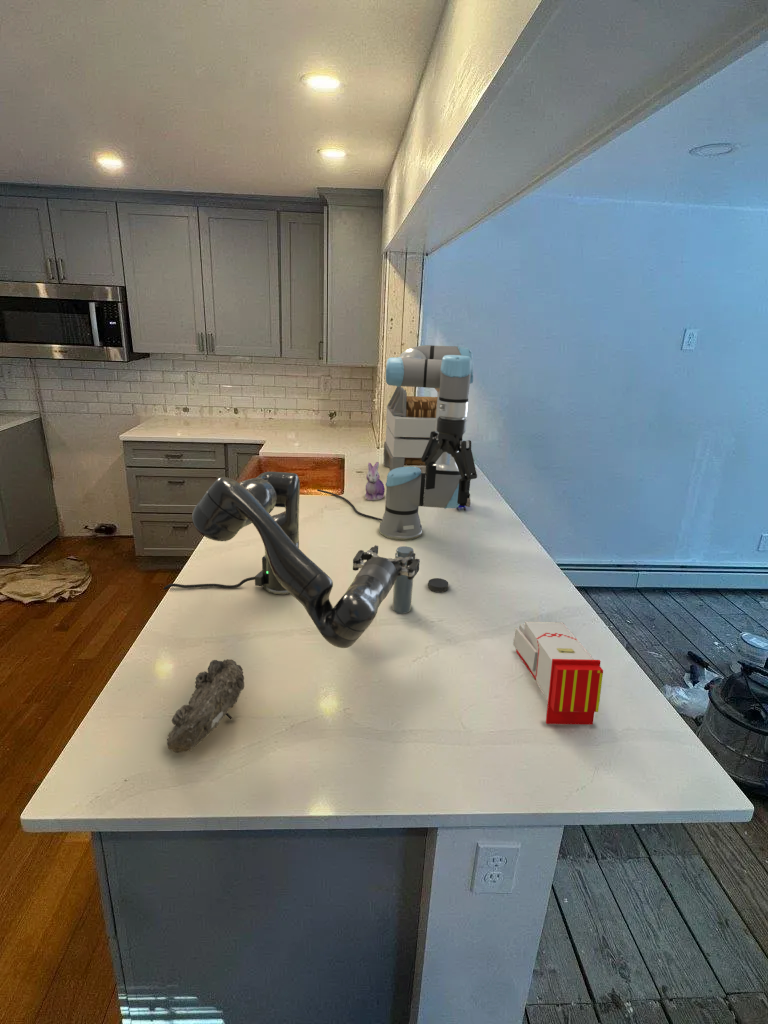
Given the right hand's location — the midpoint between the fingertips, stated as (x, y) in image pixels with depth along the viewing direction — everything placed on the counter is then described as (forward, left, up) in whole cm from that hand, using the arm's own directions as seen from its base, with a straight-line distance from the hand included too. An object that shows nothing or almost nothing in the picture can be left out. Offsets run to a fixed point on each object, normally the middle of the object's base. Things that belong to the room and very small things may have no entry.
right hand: (445, 495), depth 153 cm
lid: (0, 0, -26) cm, 26 cm away
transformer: (-89, +79, -28) cm, 122 cm away
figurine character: (-45, +58, -28) cm, 79 cm away
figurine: (-73, +36, -28) cm, 86 cm away
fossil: (+12, -74, -28) cm, 80 cm away
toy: (+45, -12, -28) cm, 55 cm away
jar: (+3, -17, -28) cm, 32 cm away
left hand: (+9, -26, -6) cm, 29 cm away
